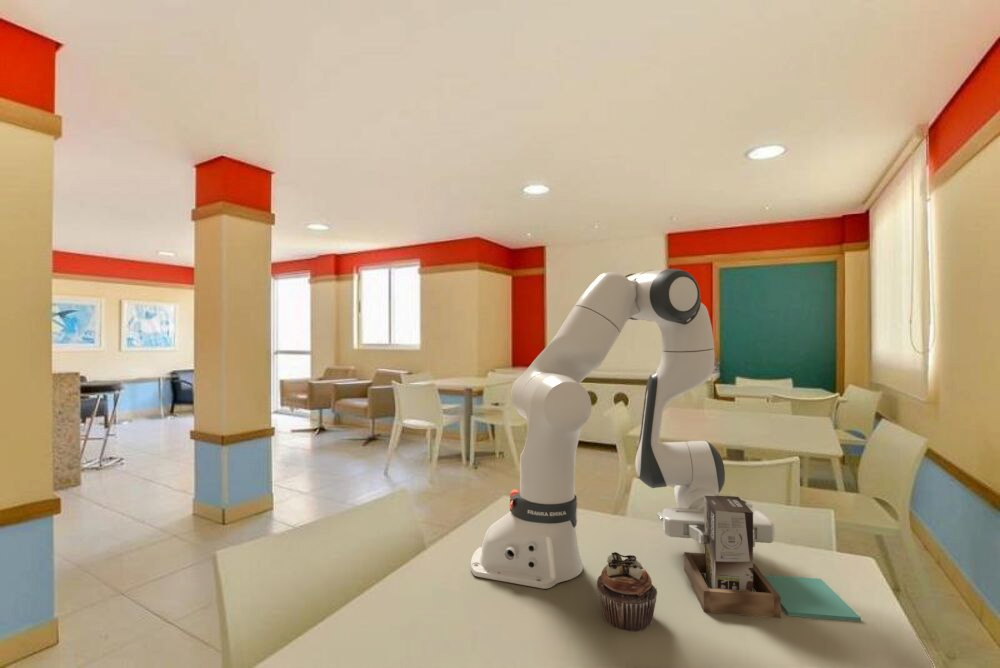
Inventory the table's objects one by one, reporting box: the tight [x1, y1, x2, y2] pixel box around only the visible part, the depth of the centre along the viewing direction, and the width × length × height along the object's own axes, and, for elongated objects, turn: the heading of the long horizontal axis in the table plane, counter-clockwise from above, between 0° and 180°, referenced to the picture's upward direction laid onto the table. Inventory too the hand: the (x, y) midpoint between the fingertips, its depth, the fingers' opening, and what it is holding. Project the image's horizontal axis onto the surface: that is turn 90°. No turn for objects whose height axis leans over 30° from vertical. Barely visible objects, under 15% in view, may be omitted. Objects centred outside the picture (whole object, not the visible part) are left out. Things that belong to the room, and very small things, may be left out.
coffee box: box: [704, 495, 754, 592], centre depth 88 cm, size 9×6×16 cm
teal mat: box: [763, 574, 862, 622], centre depth 86 cm, size 11×13×1 cm
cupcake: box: [596, 551, 658, 632], centre depth 80 cm, size 10×10×10 cm
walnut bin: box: [683, 551, 782, 619], centre depth 88 cm, size 12×15×4 cm
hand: (727, 541), depth 88 cm, fingers closed on coffee box, 6 cm apart
